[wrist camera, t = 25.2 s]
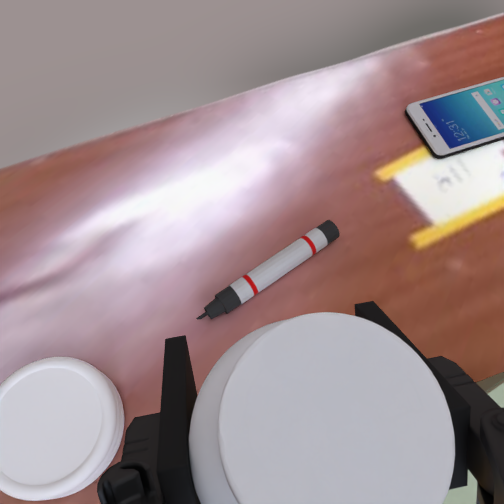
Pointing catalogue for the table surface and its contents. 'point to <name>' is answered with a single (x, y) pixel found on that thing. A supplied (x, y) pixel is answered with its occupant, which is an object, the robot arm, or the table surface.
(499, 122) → the smartphone
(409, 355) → the supplement bottle
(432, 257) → the table surface
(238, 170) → the table surface
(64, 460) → the coaster
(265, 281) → the marker
